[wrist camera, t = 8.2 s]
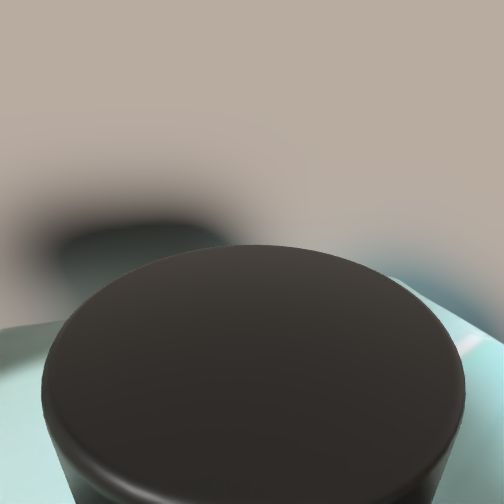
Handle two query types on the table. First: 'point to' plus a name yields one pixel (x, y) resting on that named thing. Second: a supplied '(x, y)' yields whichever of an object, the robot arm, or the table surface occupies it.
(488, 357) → the table surface
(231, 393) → the jar
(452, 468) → the table surface
